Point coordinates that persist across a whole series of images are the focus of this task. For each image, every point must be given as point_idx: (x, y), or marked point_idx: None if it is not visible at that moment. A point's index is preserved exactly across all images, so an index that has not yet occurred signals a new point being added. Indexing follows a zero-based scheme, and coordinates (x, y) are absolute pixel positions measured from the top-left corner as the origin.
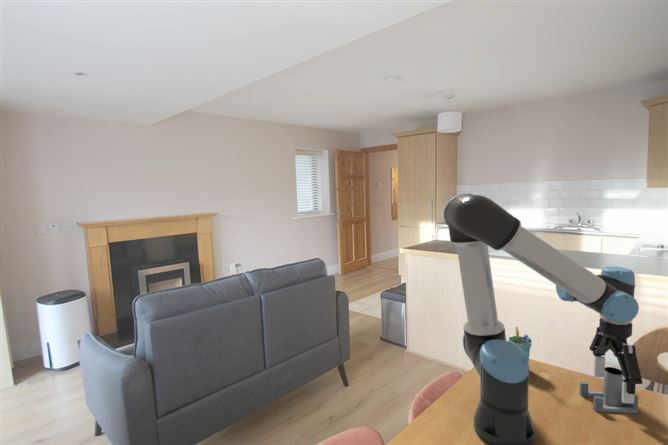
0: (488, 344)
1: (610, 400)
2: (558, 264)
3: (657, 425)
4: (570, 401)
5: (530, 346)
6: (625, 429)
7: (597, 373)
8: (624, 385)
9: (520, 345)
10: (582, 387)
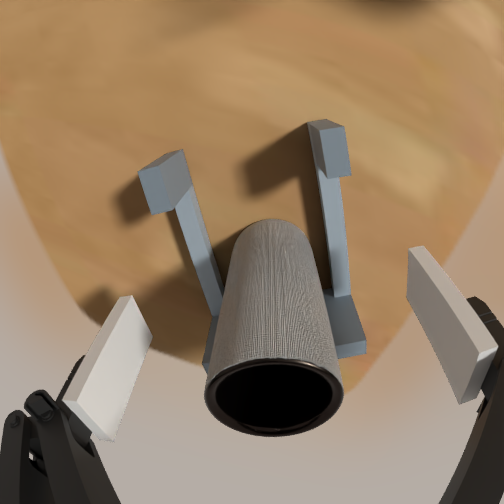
0: None
1: (235, 251)
2: None
3: (161, 343)
4: (225, 50)
5: None
6: (81, 238)
7: (417, 276)
8: (74, 376)
9: None
10: (315, 133)
